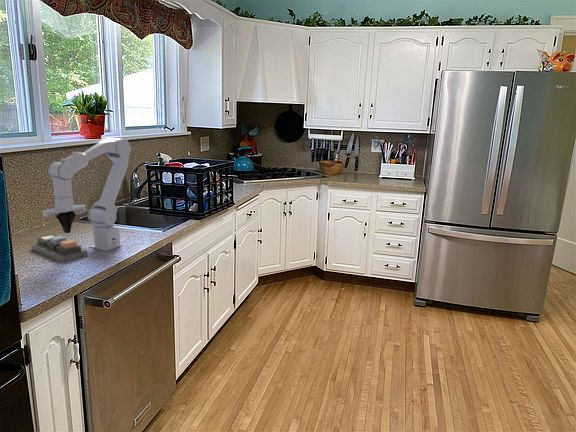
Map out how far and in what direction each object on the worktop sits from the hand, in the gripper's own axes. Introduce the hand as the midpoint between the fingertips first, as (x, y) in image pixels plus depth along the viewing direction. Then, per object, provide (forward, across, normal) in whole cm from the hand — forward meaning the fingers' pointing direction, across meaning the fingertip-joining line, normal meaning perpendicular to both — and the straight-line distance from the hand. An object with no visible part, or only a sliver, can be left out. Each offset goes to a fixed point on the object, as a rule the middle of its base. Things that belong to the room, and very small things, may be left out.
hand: (67, 232), depth 153 cm
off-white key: (+7, 0, -15) cm, 17 cm away
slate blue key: (+6, 0, -7) cm, 9 cm away
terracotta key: (+6, 0, 0) cm, 6 cm away
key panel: (+9, 0, -8) cm, 12 cm away
